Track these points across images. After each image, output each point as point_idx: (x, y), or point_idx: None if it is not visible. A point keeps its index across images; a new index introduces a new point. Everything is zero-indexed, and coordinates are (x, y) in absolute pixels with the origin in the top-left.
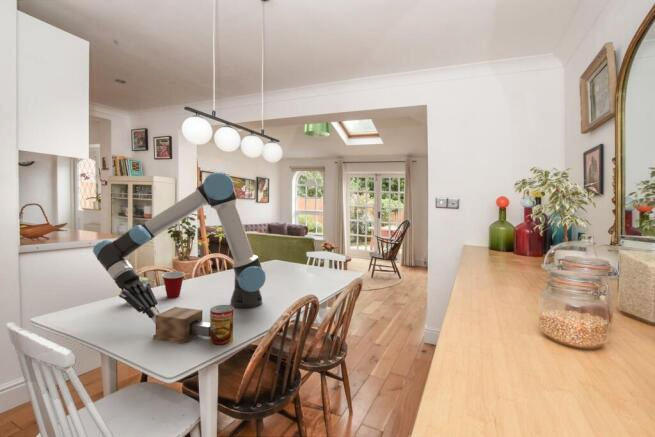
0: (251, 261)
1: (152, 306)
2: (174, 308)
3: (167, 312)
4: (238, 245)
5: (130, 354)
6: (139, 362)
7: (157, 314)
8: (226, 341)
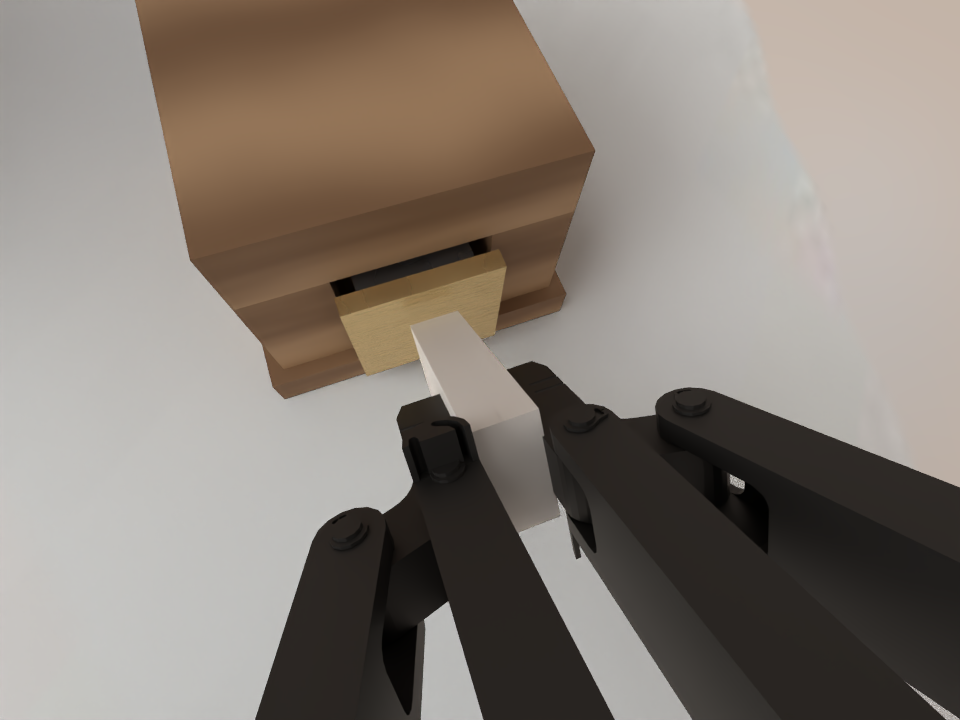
0: None
1: (476, 463)
2: (252, 209)
3: (428, 138)
4: None
5: (777, 201)
6: (763, 76)
7: (463, 351)
8: None
